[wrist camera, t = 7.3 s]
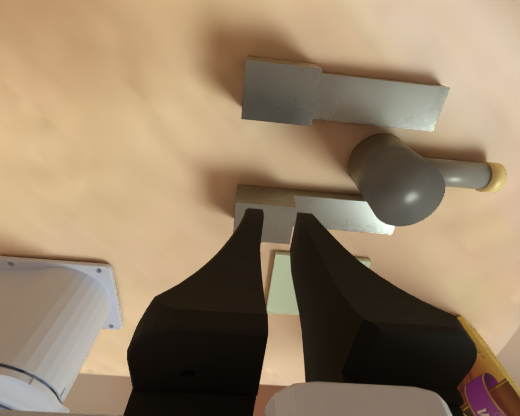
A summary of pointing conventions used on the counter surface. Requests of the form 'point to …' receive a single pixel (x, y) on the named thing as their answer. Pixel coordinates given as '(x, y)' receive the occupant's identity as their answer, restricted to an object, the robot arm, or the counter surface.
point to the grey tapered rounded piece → (413, 179)
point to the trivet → (286, 285)
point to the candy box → (487, 383)
